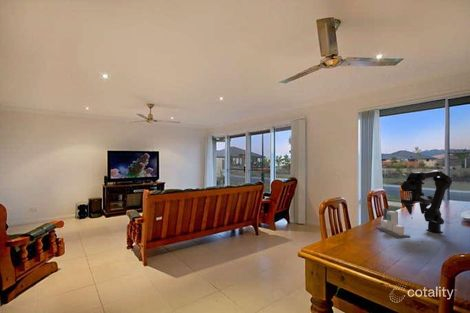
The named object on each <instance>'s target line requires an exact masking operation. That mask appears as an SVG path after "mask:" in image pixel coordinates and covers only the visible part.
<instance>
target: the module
mask: <svg viewBox="0 0 470 313" xmlns="http://www.w3.org/2000/svg"><path fill="white" fill-rule="evenodd" d="M397 212H398V211H397ZM397 212H394V211H387V229H389V230H391V231H393V225H397Z"/></svg>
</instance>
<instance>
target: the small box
mask: <svg viewBox="0 0 470 313" xmlns="http://www.w3.org/2000/svg"><path fill="white" fill-rule="evenodd" d="M382 210H383V216H382V217H383V218H382V220H387V211H394V212H397V225H399V224H398V223H399V222H398V220H399V218H398V217H399V212H398V211H396V210H394V209H391V208H383V209H382Z"/></svg>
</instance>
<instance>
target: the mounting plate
mask: <svg viewBox="0 0 470 313" xmlns="http://www.w3.org/2000/svg"><path fill="white" fill-rule="evenodd" d="M380 224H381V225H379V226H376V227H375V229H378V230H379V231H381V232H384V233H386V234H389V235H391V236H393V237H395V238H398V239H399V238H411V235H409V234H407V233H405V226H404V225H401V224H398V225H393V231H391V230H389V229H387V220H383V219H381V220H380Z"/></svg>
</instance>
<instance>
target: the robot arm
mask: <svg viewBox="0 0 470 313" xmlns="http://www.w3.org/2000/svg"><path fill="white" fill-rule="evenodd" d="M429 178H430V179H431V178H432V180H433V181H434V185H435V187H436V188H435V190H434V191H435V192H434V194H433V196H432V195H428V196H427V195H425V193H424V192H423V185H425V182H423V181H425V180H426V179H429ZM452 184H453V179H451V177H450V176H449V175H447V174H445V173H444V172H442V171H441V170H431V171H424V172H423V171H422V172H418V171H410V173H409V174H408V176H407V178H406V180H404V181H403V182H402V183H401V185H400V188H401V191H403V192H409V194H410V198H402V199H401V200H400V203H401V204H403V205H404V207H405V209H406V210H407V212H408V214H409V215H412V214H413V207H414V204H416V203H417V204H418V203H419V204H418V205H419V207H420V208H419V210H420V212H421V214H422V215H423V217H424V220H425V222H427V223H428V224H427V229H425V230H426V231H428V232H430V233H434V234H442V233H443V232H444V231H441V229H442V228H441V225H444V224H445V220H444V219H443V217H442V213H441V210H440V209H441V206H442V202H443V199H444V197H445V194H446V190H448V189H449V188H450V187H451V185H452Z"/></svg>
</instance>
